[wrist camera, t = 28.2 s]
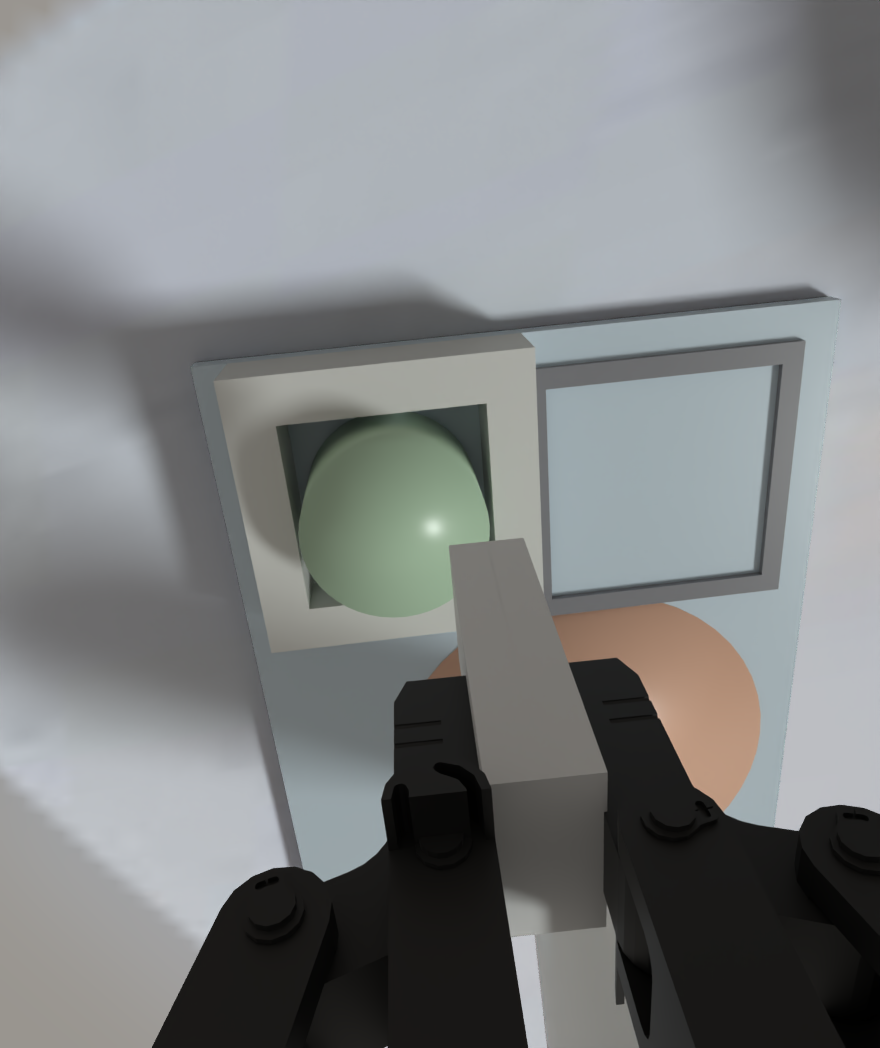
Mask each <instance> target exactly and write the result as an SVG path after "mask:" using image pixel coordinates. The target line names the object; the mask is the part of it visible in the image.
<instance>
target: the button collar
mask: <svg viewBox="0 0 880 1048" xmlns="http://www.w3.org/2000/svg"><path fill="white" fill-rule="evenodd" d="M213 382H214V387H215V391H216V396H217V401H218V405H219V410H220V415H221V419H222V424H223V429H224V433H225V438H226V443H227V447H228V452H229V457H230V461H231V466H232V471H233V475H234V480H235V485H236V489H237V494H238V499H239V503H240V508H241V513H242V517H243V522H244V527H245V531H246V536H247V541H248V546H249V550H250V555H251V560H252V564H253V569H254V574H255V578H256V583H257V588H258V592H259V597H260V602H261V606H262V611H263V616H264V620H265V625H266V630H267V634H268V639H269V644H270V648H271V653H278V652H286V651H294V650H303V649H311V648H320V647H328V646H337V645H345V644H353V643H362V642H370V641H379V640H387V639H396V638H404V637H413V636H421V635H429V634H438V633H446V632H455V631H456V621H455V610H454V598H453V599H451V600H450V601H449V602H447V603H445V604H443V605H442V606H440V607H438V608H435V609H433V610H431V611H428V612H425V613H422V614H418V615H413V616H408V617H395V618H391V617H378V616H372V615H368V614H364V613H361V612H358V611H355V610H353V609H351V608H348V607H346V606H345V605H343V604H341V603H339V602H338V601H336V600H335V599H334V598H332V597H331V596H330V595H328V594H327V593H326V592H325V591H324V590H323V589H322V588H321V587H320V586H319V585H318V584H317V582H316V581H315V580H314V578H313V577H312V575H311V574H310V572H309V570H308V569H307V567H306V564H305V562H304V560H303V557H302V553H301V549H300V545H299V536H298V532H299V519H300V514H301V509H302V504H301V498H300V493H299V487H298V481H297V476H296V470H295V464H294V459H293V453H292V447H291V442H290V436H289V430H288V425H291V424H300V423H310V422H319V421H328V420H337V419H347V418H356V417H365V416H375V415H384V414H393V413H403V412H412V411H421V410H430V409H440V408H449V407H458V406H468V405H477V404H478V407H479V421H480V436H481V450H482V465H483V480H484V494H485V504H486V508H487V511H488V516H489V523H490V537H489V541H496V540H506V539H516V538H524V540H525V543H526V546H527V549H528V552H529V554H530V557H531V560H532V563H533V565H534V568H535V571H536V574H537V577H538V579H539V582H540V585H541V588H542V591H543V593H544V585H543V556H542V528H541V500H540V472H539V444H538V416H537V388H536V359H535V347H534V346H533V345H532V344H531V343H530V342H529V341H528V340H527V339H526V338H525V337H524V336H523V335H522V333H515V334H506V335H496V336H486V337H477V338H467V339H458V340H448V341H439V342H429V343H419V344H410V345H400V346H391V347H381V348H372V349H362V350H352V351H343V352H333V353H324V354H314V355H304V356H295V357H285V358H276V359H266V360H257V361H247V362H237V363H228V364H227V365H226V366H225V367H224V368H223V370H222V371H221V372H220V373H219V375H218V376H217V377H216V378H215V380H214V381H213Z"/></svg>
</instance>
